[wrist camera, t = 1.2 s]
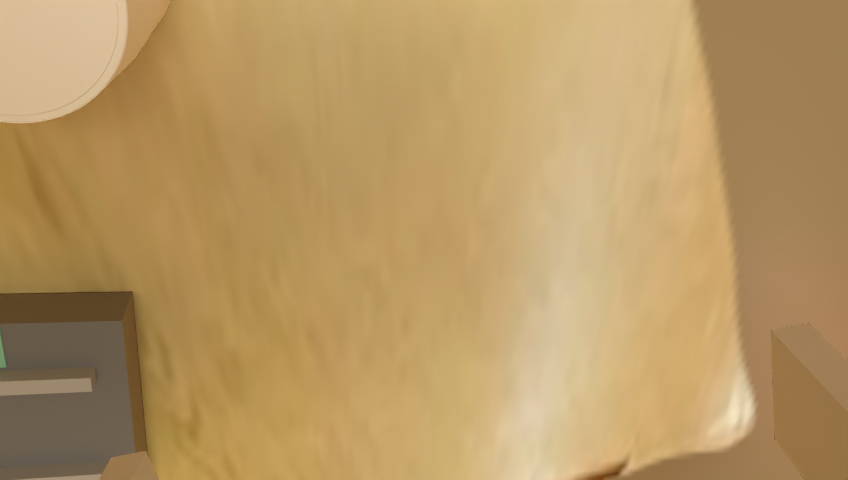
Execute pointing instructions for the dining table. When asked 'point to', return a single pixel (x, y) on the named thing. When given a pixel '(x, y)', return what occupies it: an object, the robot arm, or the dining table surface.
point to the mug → (67, 52)
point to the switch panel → (68, 384)
